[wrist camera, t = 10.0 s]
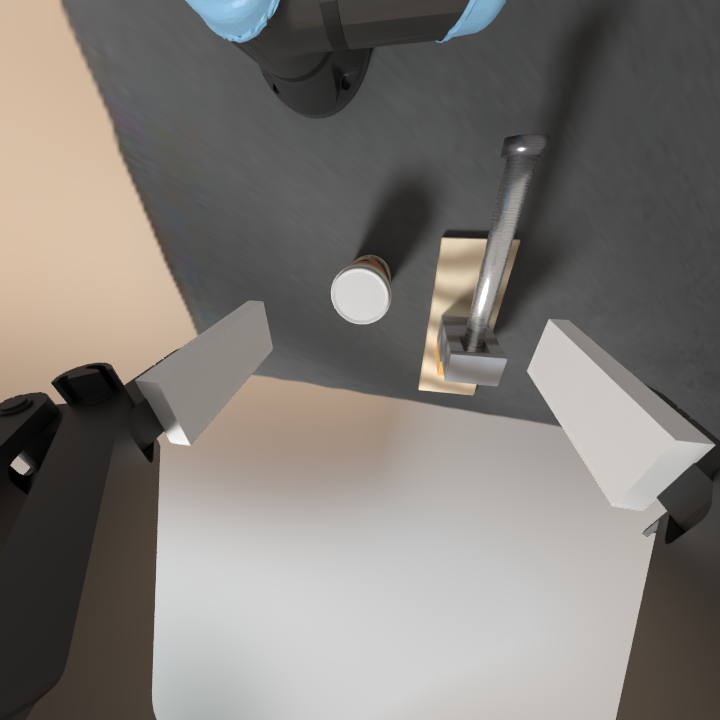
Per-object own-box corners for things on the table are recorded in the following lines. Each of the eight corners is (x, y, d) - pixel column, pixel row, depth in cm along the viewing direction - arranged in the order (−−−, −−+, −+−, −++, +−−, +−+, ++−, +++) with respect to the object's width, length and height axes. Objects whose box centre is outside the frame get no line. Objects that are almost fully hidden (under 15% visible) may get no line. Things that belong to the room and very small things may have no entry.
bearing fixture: (441, 237, 45) (453, 257, 32) (518, 239, 43) (562, 260, 30) (418, 386, 62) (420, 438, 49) (472, 391, 60) (488, 446, 48)
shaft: (499, 140, 31) (511, 134, 27) (541, 140, 30) (559, 133, 26) (453, 347, 46) (457, 361, 42) (480, 350, 45) (486, 364, 41)
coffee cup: (404, 266, 48) (403, 287, 38) (379, 308, 53) (371, 336, 43) (359, 239, 47) (345, 253, 37) (337, 284, 52) (320, 307, 42)
